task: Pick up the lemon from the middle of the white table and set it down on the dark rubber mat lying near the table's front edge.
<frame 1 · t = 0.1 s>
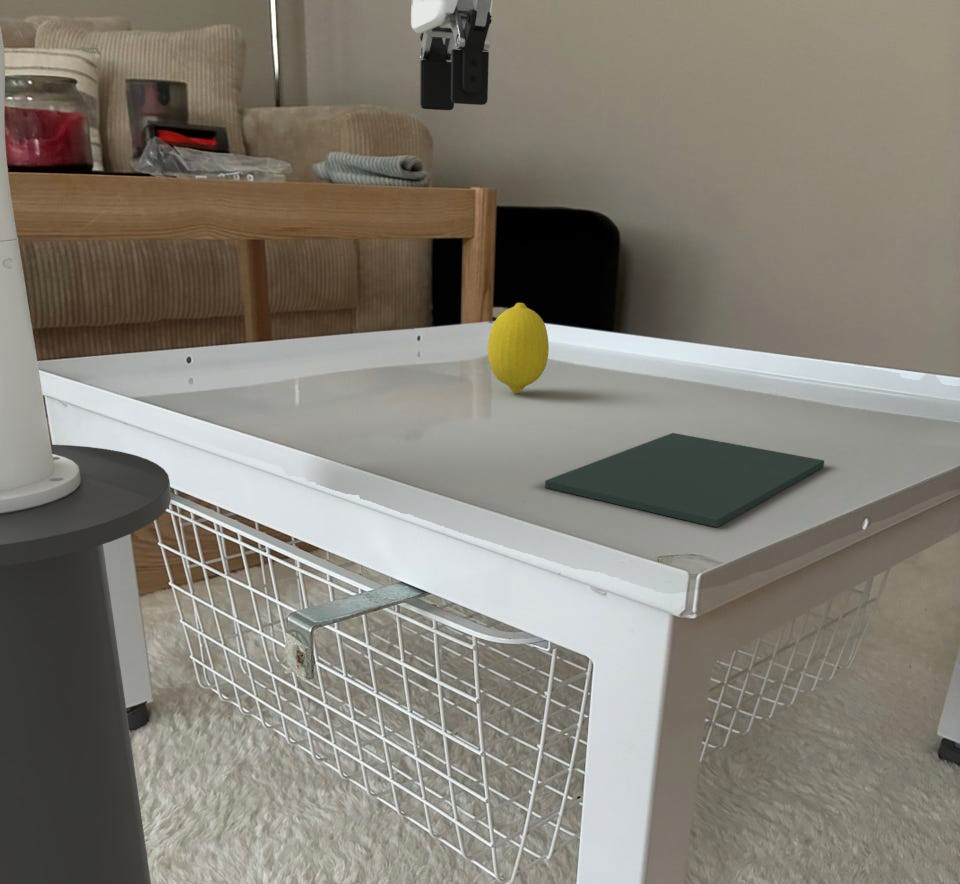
hand: (452, 106, 90), 24 cm above the table, tool pointing down, fingers open, 9 cm apart
edge mat: (691, 476, 67), on the table
lemon: (516, 395, 91), on the table
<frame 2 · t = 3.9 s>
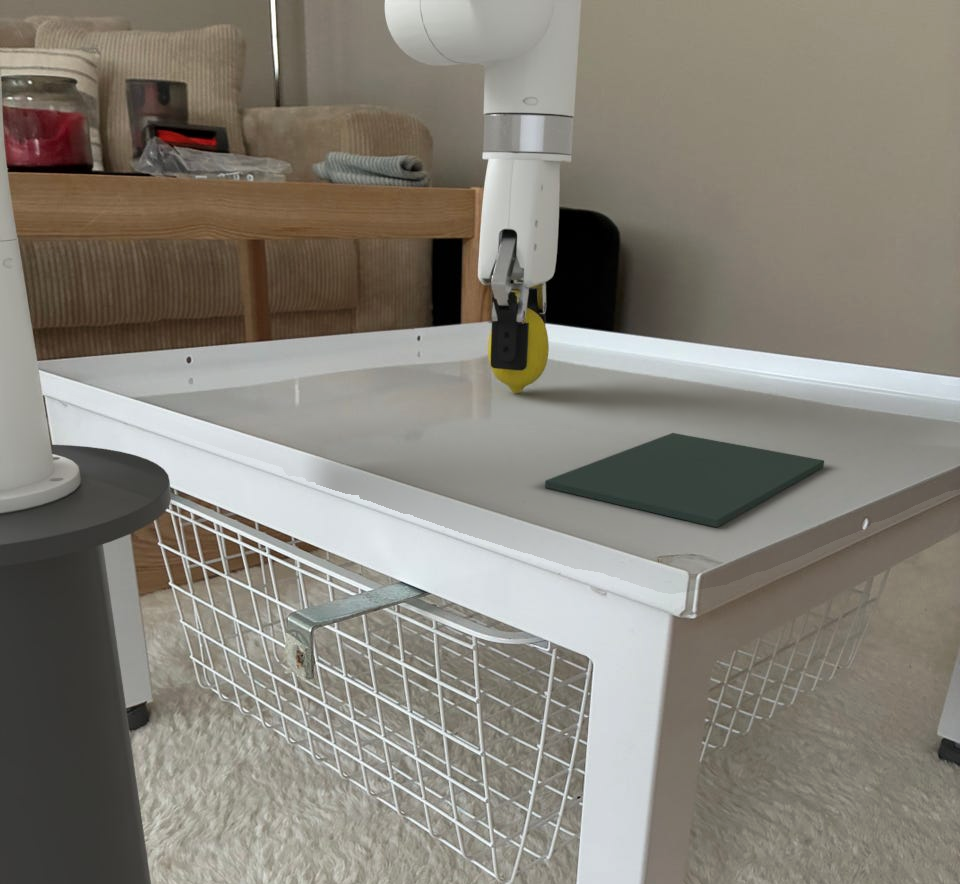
hand: (517, 361, 90), 3 cm above the table, tool pointing down, fingers closed on lemon, 5 cm apart
lemon: (516, 395, 91), on the table, touching gripper
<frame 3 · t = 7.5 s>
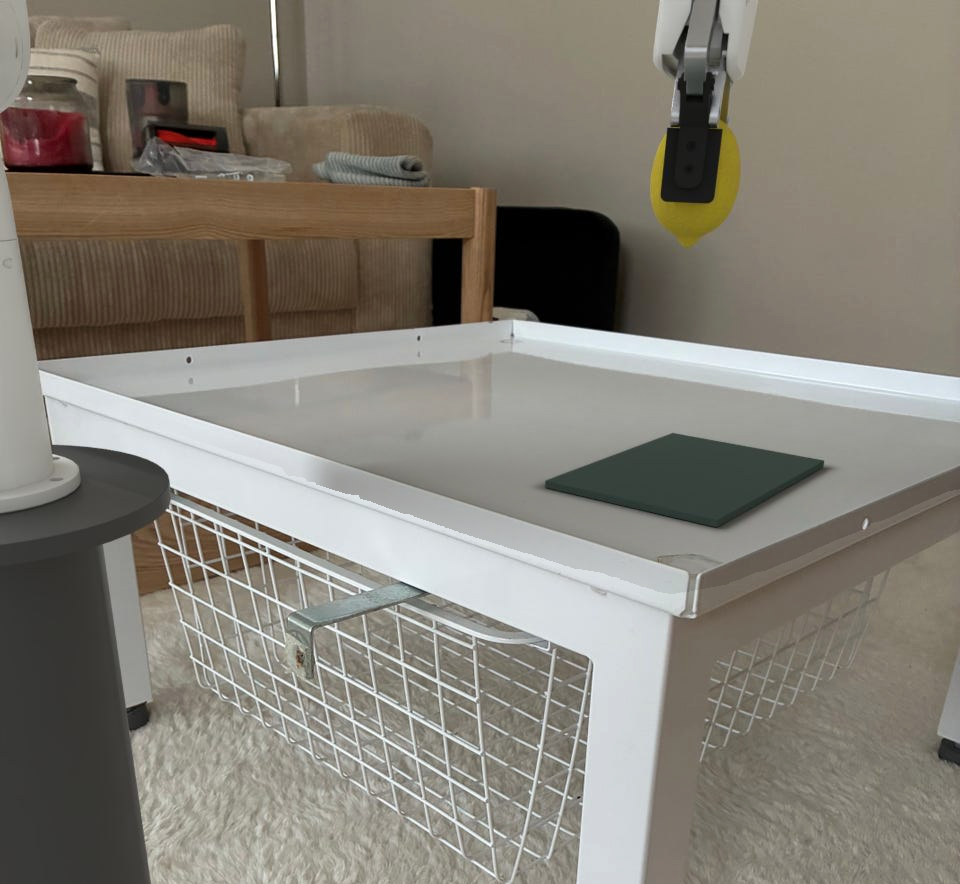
hand: (692, 198, 62), 17 cm above the table, tool pointing down, fingers closed on lemon, 5 cm apart
lemon: (686, 251, 64), point 14 cm above the table, touching gripper
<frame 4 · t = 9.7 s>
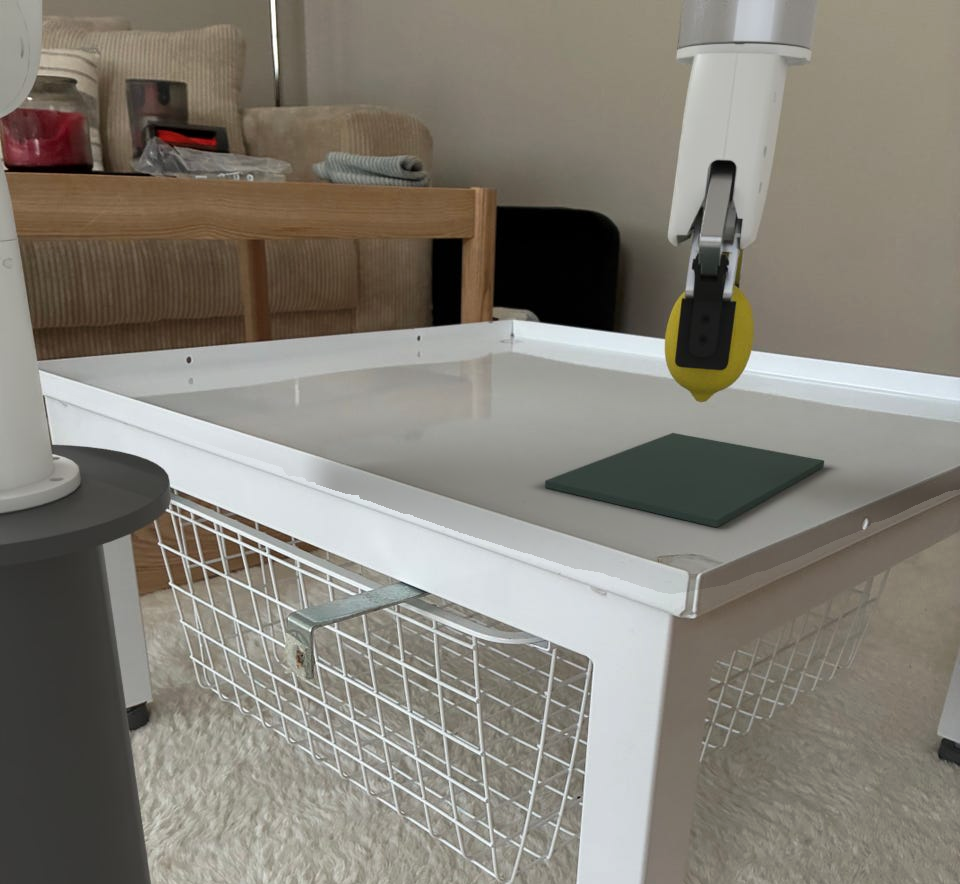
hand: (705, 357, 63), 8 cm above the table, tool pointing down, fingers closed on lemon, 5 cm apart
lemon: (700, 405, 65), point 5 cm above the table, touching gripper
when the fingers open (3 cm above the table, at t = 11.3 s): lemon stays where it is, resting on edge mat.
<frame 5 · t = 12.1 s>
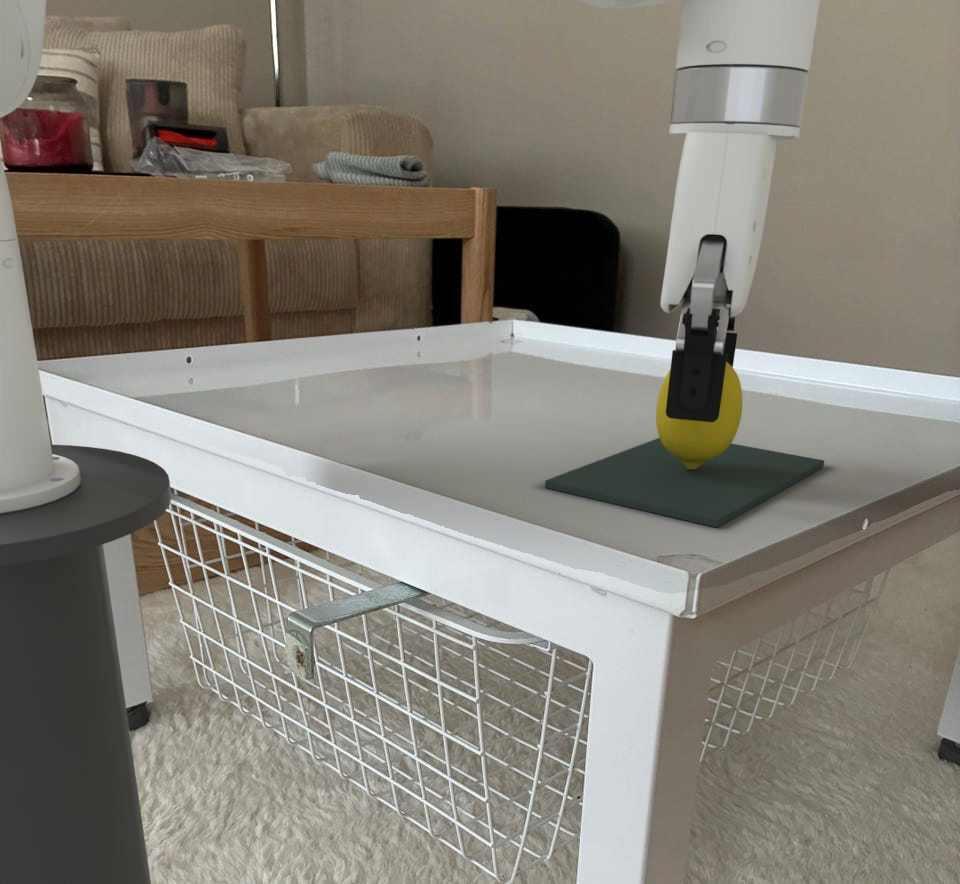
hand: (699, 404, 65), 5 cm above the table, tool pointing down, fingers open, 9 cm apart
lemon: (691, 472, 67), resting on edge mat
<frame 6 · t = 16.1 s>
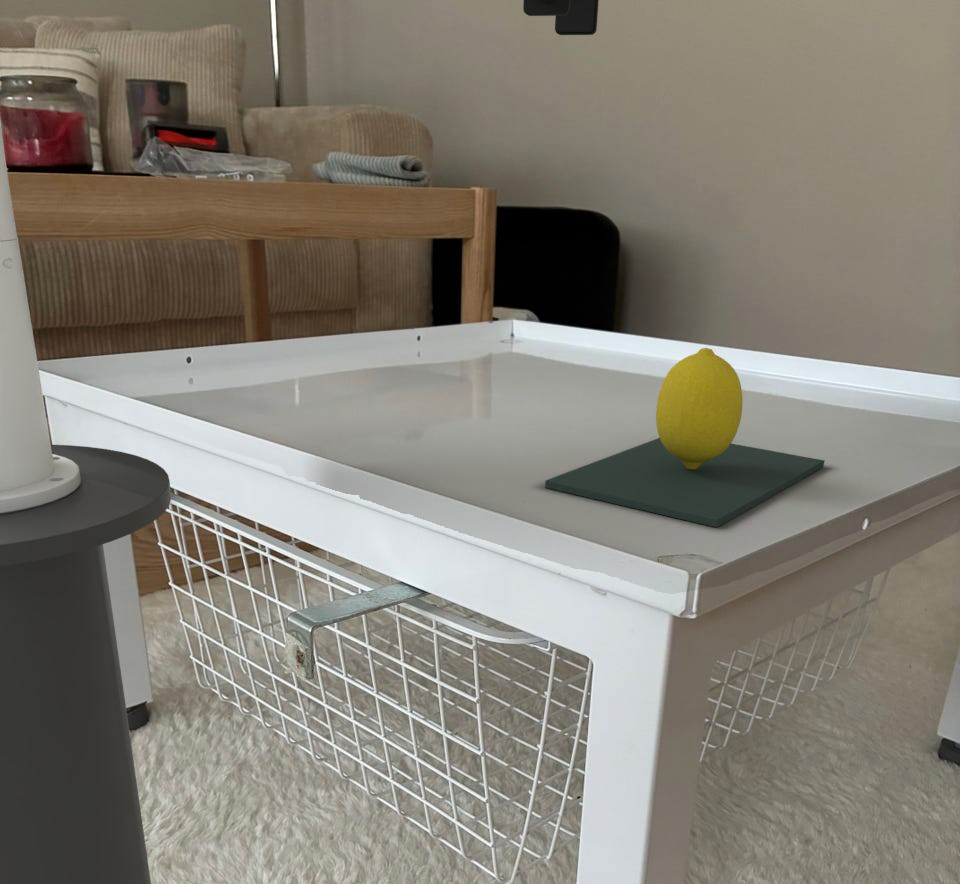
hand: (561, 25, 72), 28 cm above the table, tool pointing down, fingers open, 9 cm apart
nothing on the table moved.
at the end: lemon inside the target area on the edge mat (0.0 cm from its centre), point 0.3 cm above the edge mat's base; the gripper is holding nothing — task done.
